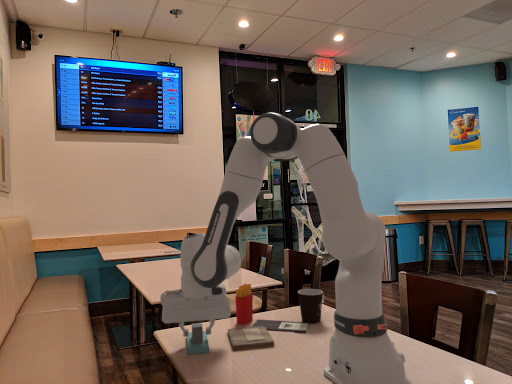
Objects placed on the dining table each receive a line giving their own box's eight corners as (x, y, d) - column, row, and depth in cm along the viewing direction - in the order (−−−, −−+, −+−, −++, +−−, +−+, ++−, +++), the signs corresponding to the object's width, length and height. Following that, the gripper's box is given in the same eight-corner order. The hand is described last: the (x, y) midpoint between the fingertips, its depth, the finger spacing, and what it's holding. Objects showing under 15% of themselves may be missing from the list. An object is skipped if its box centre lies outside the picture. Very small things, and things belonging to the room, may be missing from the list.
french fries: (244, 317, 138) (243, 281, 138) (255, 318, 136) (254, 282, 136) (233, 325, 130) (232, 287, 130) (244, 326, 128) (243, 288, 128)
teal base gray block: (209, 352, 107) (208, 333, 107) (187, 354, 106) (187, 335, 106) (206, 335, 121) (205, 318, 121) (187, 336, 119) (186, 319, 120)
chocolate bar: (257, 319, 134) (308, 322, 129) (257, 322, 134) (308, 325, 129) (250, 327, 125) (305, 331, 121) (250, 330, 125) (305, 334, 120)
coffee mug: (313, 326, 126) (312, 296, 126) (293, 320, 133) (292, 292, 133) (334, 318, 134) (333, 290, 134) (314, 313, 141) (314, 286, 141)
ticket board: (274, 346, 110) (274, 340, 110) (233, 350, 108) (233, 344, 108) (264, 330, 124) (264, 325, 124) (227, 333, 122) (227, 328, 122)
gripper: (159, 293, 108) (160, 342, 108) (231, 288, 112) (232, 335, 112) (160, 288, 115) (161, 334, 114) (228, 283, 118) (229, 328, 118)
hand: (197, 335), depth 113 cm, fingers open, 5 cm apart
